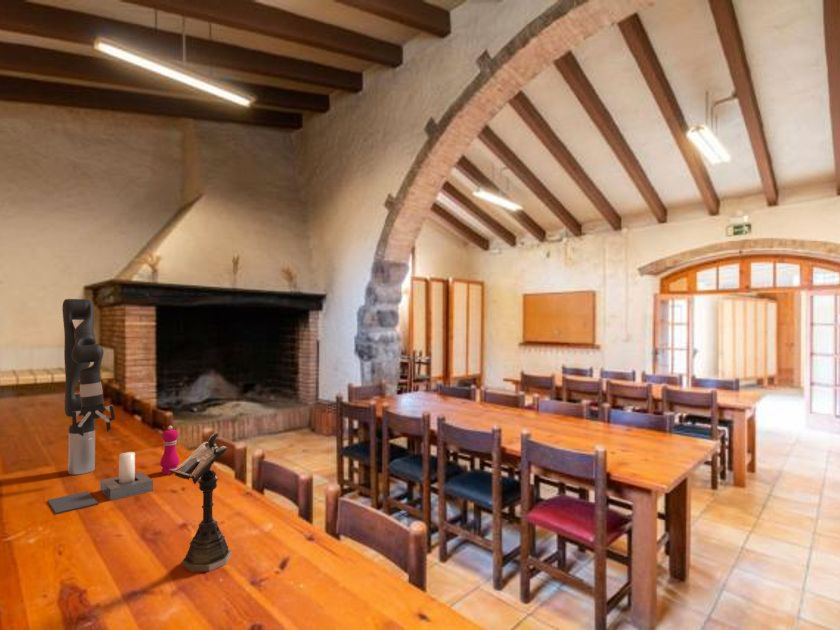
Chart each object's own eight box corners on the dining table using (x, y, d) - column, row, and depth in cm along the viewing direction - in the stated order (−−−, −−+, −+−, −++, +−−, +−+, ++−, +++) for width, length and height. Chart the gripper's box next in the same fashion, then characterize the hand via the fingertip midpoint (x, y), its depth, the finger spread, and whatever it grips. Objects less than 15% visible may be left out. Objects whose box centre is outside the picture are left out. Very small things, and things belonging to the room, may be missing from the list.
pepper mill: (171, 475, 199) (171, 428, 200) (156, 474, 201) (156, 427, 201) (183, 470, 207) (183, 424, 207) (168, 469, 208) (168, 423, 208)
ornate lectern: (182, 587, 118) (183, 445, 118) (157, 570, 125) (158, 437, 126) (242, 560, 131) (243, 432, 131) (216, 546, 139) (217, 426, 139)
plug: (117, 490, 182) (117, 454, 182) (132, 487, 186) (132, 451, 186) (120, 494, 179) (121, 456, 179) (136, 490, 182) (136, 454, 183)
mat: (47, 501, 171) (47, 499, 171) (87, 492, 180) (87, 491, 180) (55, 514, 160) (55, 512, 160) (98, 504, 169) (98, 502, 169)
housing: (100, 490, 182) (100, 480, 182) (141, 481, 192) (141, 471, 192) (110, 500, 173) (110, 489, 173) (152, 490, 183) (152, 480, 183)
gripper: (112, 389, 201) (115, 427, 201) (70, 395, 193) (74, 435, 194) (112, 392, 194) (116, 431, 195) (69, 398, 187) (73, 439, 187)
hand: (95, 433), depth 194 cm, fingers open, 8 cm apart
